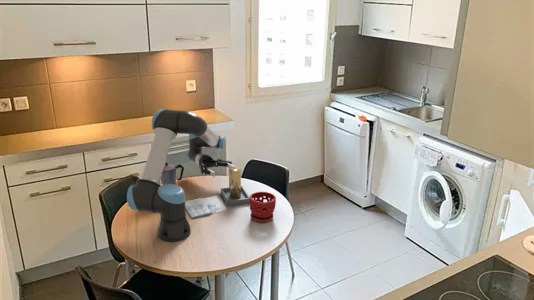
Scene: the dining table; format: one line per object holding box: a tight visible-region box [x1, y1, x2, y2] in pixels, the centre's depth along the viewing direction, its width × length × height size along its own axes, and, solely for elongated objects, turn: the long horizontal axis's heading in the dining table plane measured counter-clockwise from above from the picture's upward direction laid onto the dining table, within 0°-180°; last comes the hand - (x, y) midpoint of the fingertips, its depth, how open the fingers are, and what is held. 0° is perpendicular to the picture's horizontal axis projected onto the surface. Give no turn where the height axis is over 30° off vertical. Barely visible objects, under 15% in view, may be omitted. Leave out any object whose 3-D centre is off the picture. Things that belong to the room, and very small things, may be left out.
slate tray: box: [220, 185, 250, 207], centre depth 233 cm, size 17×13×3 cm
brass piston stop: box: [228, 167, 242, 199], centre depth 230 cm, size 6×6×16 cm
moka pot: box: [160, 162, 185, 185], centre depth 232 cm, size 10×15×20 cm, turn 115°
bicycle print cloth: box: [185, 195, 228, 219], centre depth 223 cm, size 19×20×2 cm
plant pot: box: [248, 191, 277, 223], centre depth 212 cm, size 13×13×12 cm
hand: (224, 171), depth 233 cm, fingers open, 13 cm apart
